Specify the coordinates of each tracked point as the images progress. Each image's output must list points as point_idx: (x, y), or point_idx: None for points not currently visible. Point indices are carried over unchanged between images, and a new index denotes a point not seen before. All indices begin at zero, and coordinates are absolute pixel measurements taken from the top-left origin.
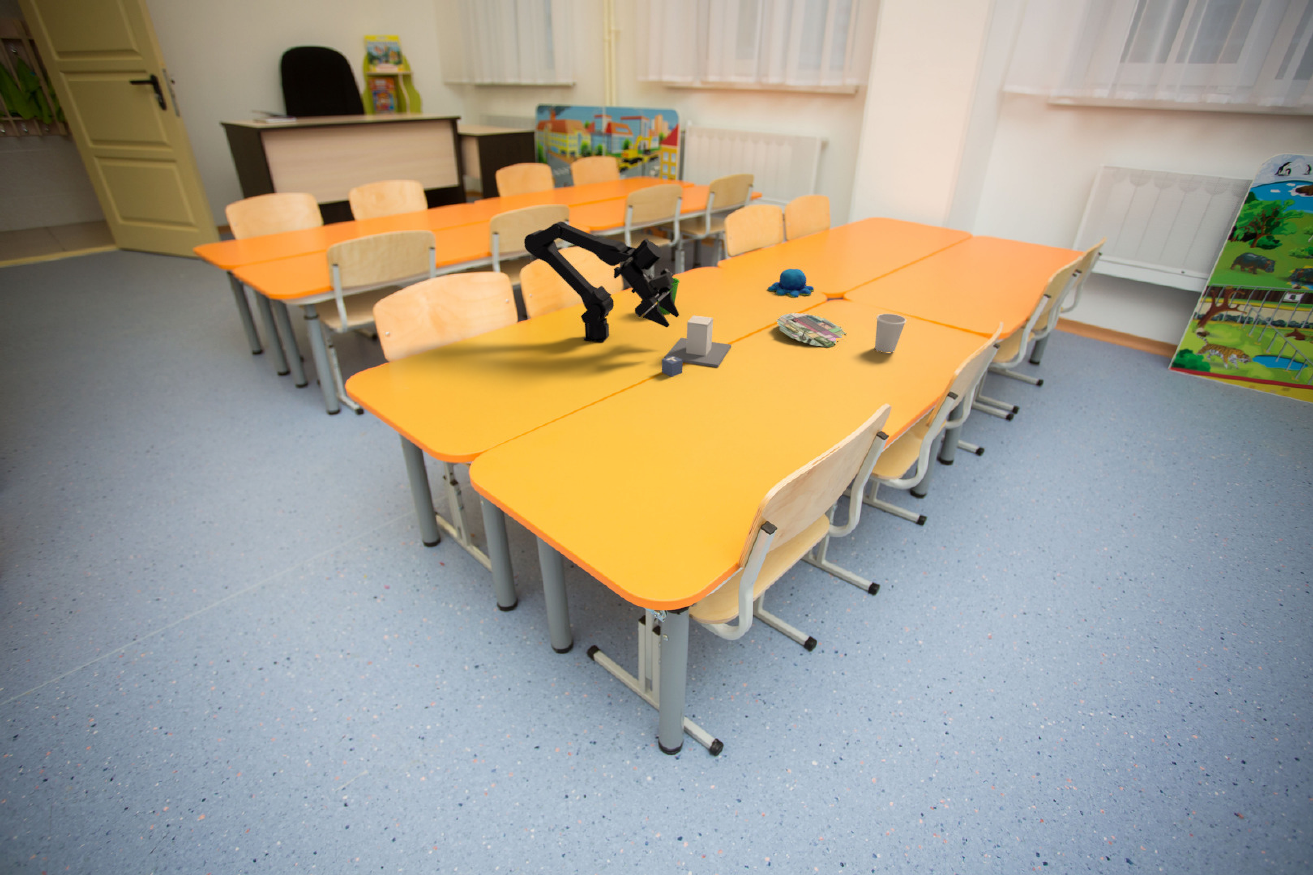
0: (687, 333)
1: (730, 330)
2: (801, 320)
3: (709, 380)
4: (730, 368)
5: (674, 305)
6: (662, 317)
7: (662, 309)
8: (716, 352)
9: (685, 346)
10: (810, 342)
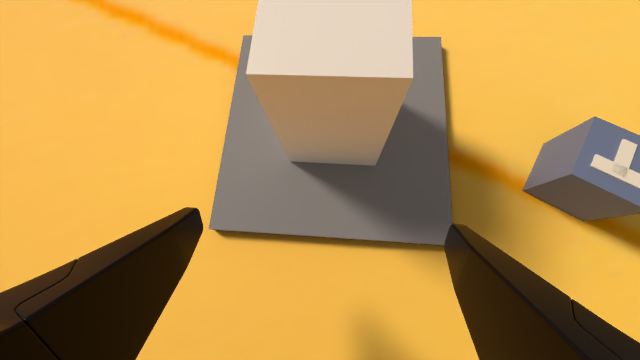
0: (392, 121)
1: (86, 74)
2: None
3: (554, 47)
4: (426, 12)
5: (101, 256)
6: (561, 294)
7: None
8: None
9: (306, 184)
10: None
